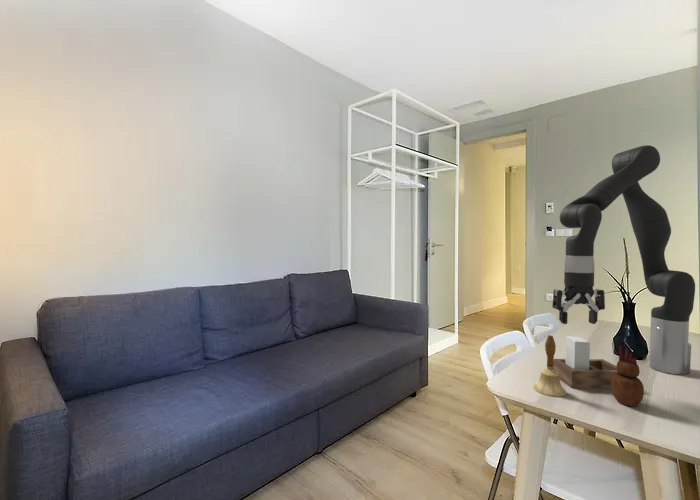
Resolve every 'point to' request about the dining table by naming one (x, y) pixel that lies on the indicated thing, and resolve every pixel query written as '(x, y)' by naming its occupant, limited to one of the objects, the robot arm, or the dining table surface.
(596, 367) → the walnut rail
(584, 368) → the skincare box
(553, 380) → the hand bell
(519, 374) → the dining table surface
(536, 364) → the dining table surface
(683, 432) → the dining table surface
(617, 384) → the wooden figurine
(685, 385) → the dining table surface
